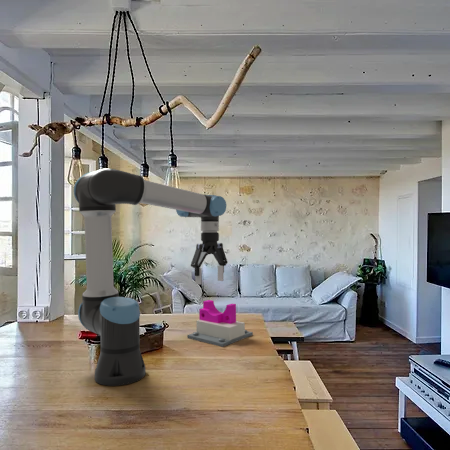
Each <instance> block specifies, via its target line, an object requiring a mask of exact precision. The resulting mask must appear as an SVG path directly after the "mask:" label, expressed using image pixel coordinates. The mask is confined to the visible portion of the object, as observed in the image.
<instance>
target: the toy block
mask: <svg viewBox="0 0 450 450" xmlns="http://www.w3.org/2000/svg"><path fill="white" fill-rule="evenodd" d="M202 306H203V307H202V308H200V309H199V314H198V315H199V316H198V320H203V321H208V322H213V323H221V322H223V323H228V324H232V323H235V322H236V321H237V304H236V303H229V304H226V305H225V310H224V311H223V312H221V311H219V309H218V308H217V307H216V306H215V302H214V300H210V299H207V300H204V301H202Z"/></svg>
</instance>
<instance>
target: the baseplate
mask: <svg viewBox="0 0 450 450" xmlns="http://www.w3.org/2000/svg"><path fill="white" fill-rule="evenodd" d="M195 323H196V331H194V332H192V333H189V334H187V335H186V338H187V339H191V340H193V341H198V342H202V343H205V344H210V345H214V346H217V347H222V348H223V347H226V346H229V345H231V344H233V343H236V342H238V341H241V340H243V339H246V338H249V337H251V336H253V335H254V333H253V331H248V330H247V329H245V328H246V326H245V325H246V323H245V321H238V320H236V322H235V323H232V324H228V323H223V322H221V323H213V322H208V321H203V320H199V319H197V320H196V322H195Z"/></svg>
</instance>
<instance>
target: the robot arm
mask: <svg viewBox="0 0 450 450" xmlns="http://www.w3.org/2000/svg"><path fill="white" fill-rule="evenodd" d="M73 196H74V198H75V200H76V202H77V203H78V210H79V211H78V212H79V214H80V215H82V216H83V218H84V240H85V241H84V242H85V244H84V246H85V247H84V248H85V269H86V270H85V272H86V274H85V275H86V290H85V291H83V292H82V302H81V303H80V304H79V307H78V309H77V316H78V320H79V323H80V324H81V325H82V326H83V327H84V328H85V329H86V330H88V331H89V332H91V333H94V334H97V335H99V336H100V352H99V353H100V354H99V357H98V360H97V363H96V367H95V370H94V381H95V383H97V384H99V385H102V386H108V387H109V386H114V387H115V386H124V385H129V384H133V383H135V382H136V383H137V382H138V381H140V380H141V379H143V378H144V377H145V375H146V364H145V361H144V358H143V355H142V352H141V349H140V343H141V341H140V340H141V339H140V333H141V332H140V331H141V330H140V328H141V327H140V326H141V325H140V323H141V321H140V317H141V313H140V304H139V302H138V301H137V300H135V299H134V298H131V297H124V296H120V295H119V290H118V289H116V287H115V286H114V262H113V261H114V260H113V258H114V257H113V253H114V252H113V233H112V231H113V230H112V229H113V227H112V225H113V224H112V216H113V215H114V214H115V213H116V210H117V209H116V207H117V206H116V205H133V206H137V205H139V204H144V205H149V206H155V207H160V208H167V209H172V210H175V212H176V214H177V215H178V216H179V217H181V218H200V232H201V233H200V240H201V242H202V243H196V245H195V246H196V248H195V252H194V254H193V257H192V260H191V263H190V267H192V268H193V269H194V276H195V278H194V279H195V280H194V281H195V285H202V279H203V277H202V271H203V270H202V269H203V268H201V266H202V265H203V264H204V262H205V259H206V257H207V256H208V255H213V257H214V258H215V260H216V262H217V264H218V265H217V281H218V282H219V281H220V282H223V281H224V273H225V267H226V266H227V264H228V262H229V261H228V259H227V257H226V253H225V249H224V244H223V243H222V242H218V241H219V240H220V233H219V231H220V229H219V228H220V225H219V224H220V220H219V219H220V216H223V215H224V214H225V213H226V211H227V201H226V200H225V198H224V197H223V196H220V195H215V194H202V193H199V192H196V191H195V192H194V191H190V190H187V189H182V188H179V187H175V186H171V185H165V184H162V183H157V182H154V181H149V180H145V178H144V177H143V176H141V175H139V174H134V173H131V172H127V171H124V170H119V169H116V168H110V167H109V168H101V169H98V170H95V171H90V172H89V171H88V172H86V173H84V174H82V175H80V177H79V178H78V179H77V180H76V182H75V183H74V186H73Z"/></svg>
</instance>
